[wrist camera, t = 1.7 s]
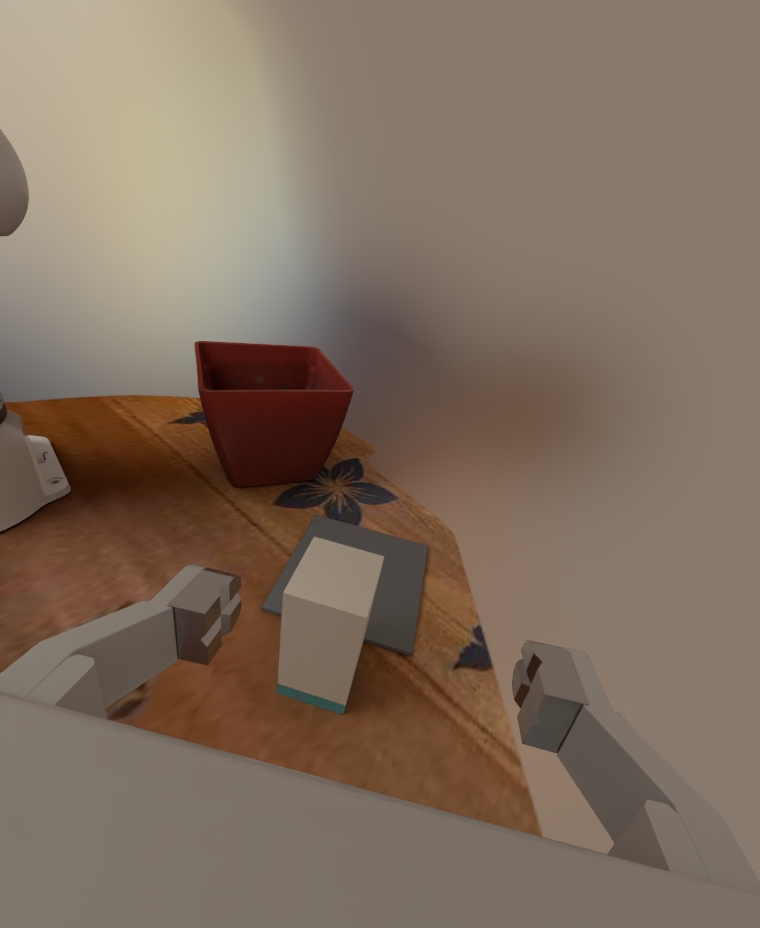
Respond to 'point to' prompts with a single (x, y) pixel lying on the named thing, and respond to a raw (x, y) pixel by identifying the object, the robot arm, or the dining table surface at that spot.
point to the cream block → (326, 622)
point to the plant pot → (270, 409)
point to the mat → (395, 586)
